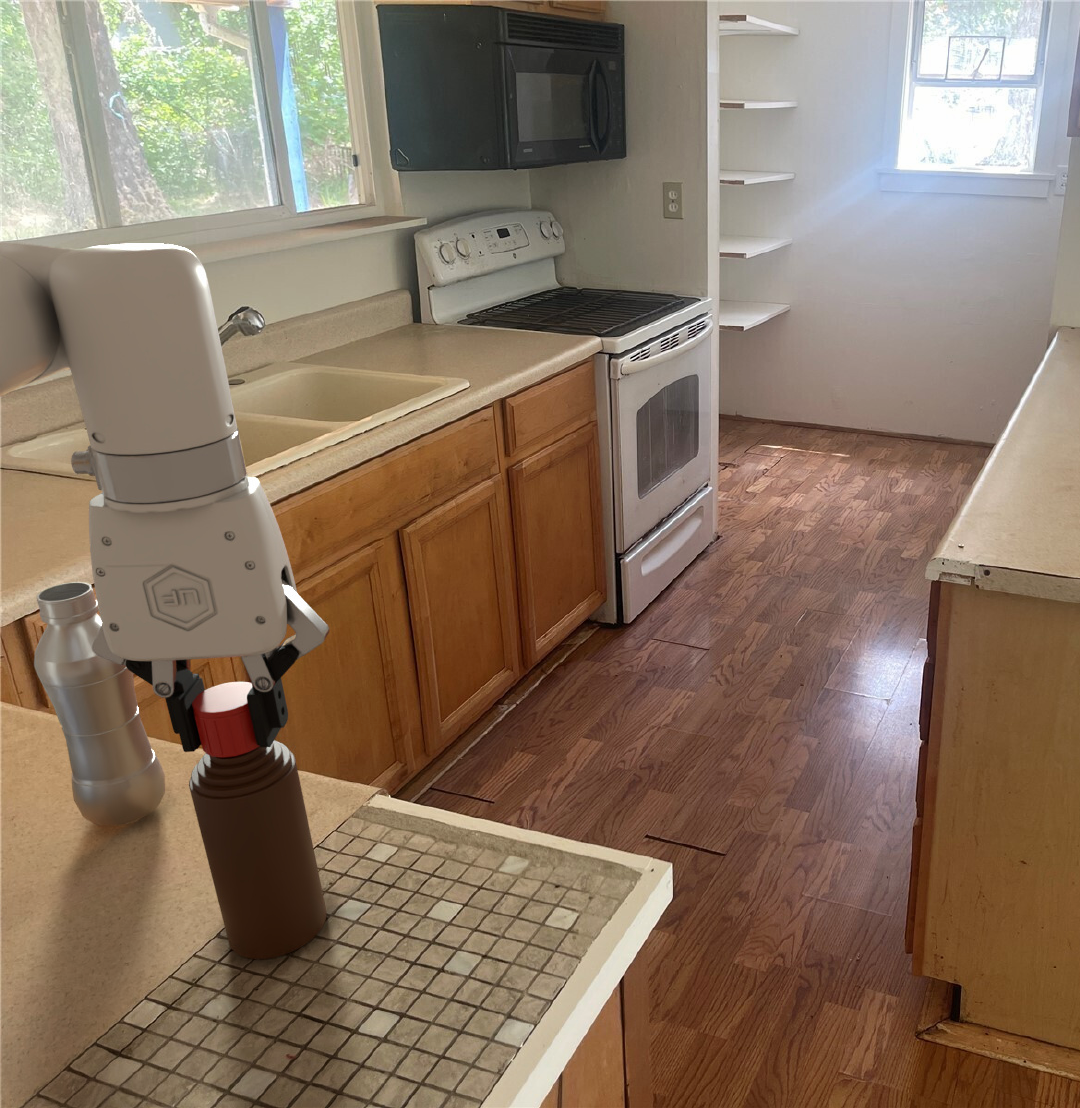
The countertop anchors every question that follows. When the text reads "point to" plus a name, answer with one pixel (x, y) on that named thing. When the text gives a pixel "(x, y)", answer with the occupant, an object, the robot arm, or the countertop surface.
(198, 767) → the sauce bottle
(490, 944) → the countertop surface
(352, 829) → the countertop surface
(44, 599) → the silver water bottle
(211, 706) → the cap
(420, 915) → the countertop surface
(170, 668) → the robot arm
